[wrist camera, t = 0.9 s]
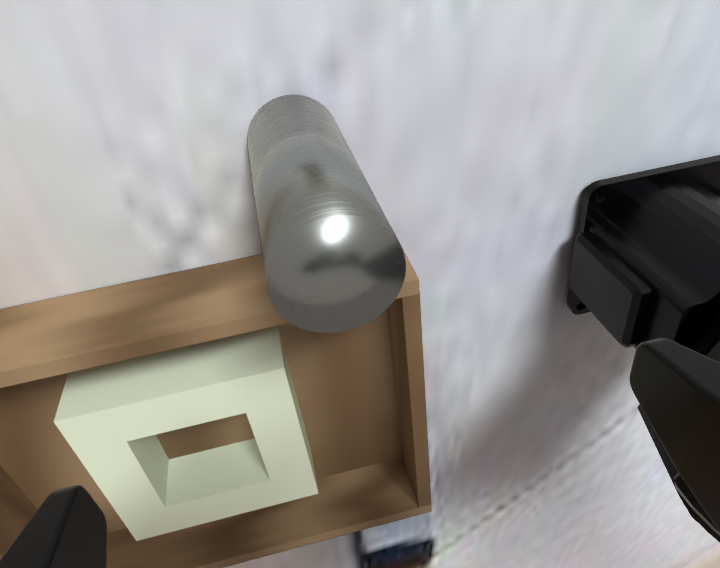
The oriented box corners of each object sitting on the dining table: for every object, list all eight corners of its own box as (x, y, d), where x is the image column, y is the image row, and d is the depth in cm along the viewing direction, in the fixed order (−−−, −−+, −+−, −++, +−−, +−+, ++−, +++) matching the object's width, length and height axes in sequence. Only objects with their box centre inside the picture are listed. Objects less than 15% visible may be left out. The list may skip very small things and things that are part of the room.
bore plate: (277, 325, 21) (284, 368, 20) (311, 449, 26) (318, 493, 24) (68, 372, 21) (53, 422, 19) (141, 492, 25) (136, 541, 24)
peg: (332, 87, 17) (401, 202, 11) (344, 174, 19) (409, 316, 13) (237, 104, 17) (251, 233, 11) (258, 190, 19) (282, 345, 12)
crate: (391, 226, 21) (418, 279, 18) (410, 451, 29) (431, 511, 26) (-116, 333, 19) (-173, 410, 16) (62, 541, 27) (45, 615, 24)
